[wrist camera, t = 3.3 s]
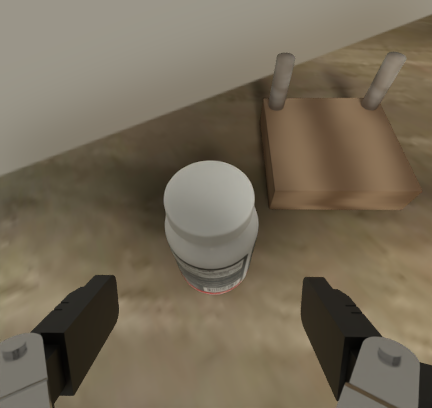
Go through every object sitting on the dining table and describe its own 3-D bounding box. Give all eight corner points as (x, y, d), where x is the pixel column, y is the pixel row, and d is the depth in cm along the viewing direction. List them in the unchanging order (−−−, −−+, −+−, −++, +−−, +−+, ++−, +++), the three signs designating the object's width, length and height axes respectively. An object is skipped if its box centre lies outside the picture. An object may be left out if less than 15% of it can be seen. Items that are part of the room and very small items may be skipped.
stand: (364, 120, 30) (405, 49, 24) (401, 209, 24) (472, 147, 17) (260, 120, 31) (271, 50, 24) (269, 209, 24) (288, 147, 18)
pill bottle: (203, 219, 24) (194, 138, 15) (260, 249, 22) (284, 177, 14) (166, 273, 21) (130, 211, 13) (227, 311, 20) (231, 269, 11)
